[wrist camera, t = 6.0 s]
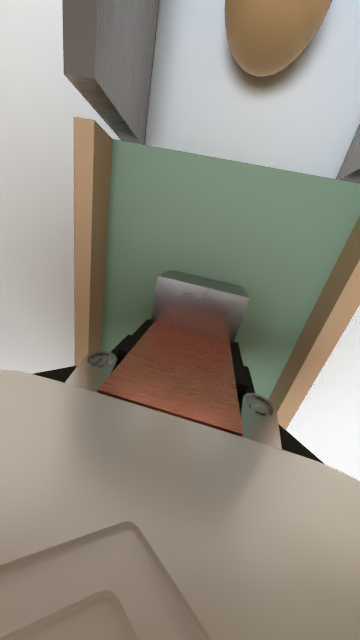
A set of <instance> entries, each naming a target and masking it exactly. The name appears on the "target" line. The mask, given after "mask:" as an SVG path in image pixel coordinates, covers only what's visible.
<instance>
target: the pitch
mask: <svg viewBox="0 0 360 640" xmlns="http://www.w3.org/2000/svg"><path fill="white" fill-rule="evenodd" d="M74 260H75V366H78V365H79V364H80V362H81V361H82V360H83V359H84V357H85V356H86V355H87V354H89V353H91V352H95V351H108V352H111V351H112V350H113V349H114V348H115V347H116V346H117V345H118V344H119V343H120V342H121V341H122V340H123V339H124V338H125V337H126V336H127V335H128V334H130V335H132V334H133V333H134V332H135V331H136V330H137V329H138V328H139V327H140V326H141V325H142V324H143V323H144V322H145V321H146V320H147V319H151V315H152V309H153V303H154V296H155V290H156V284H157V277H158V276H159V275H161V274H163V273H165V272H167V271H169V270H173V271H177V272H182V273H186V274H190V275H194V276H199V277H203V278H207V279H211V280H215V281H220V282H224V283H228V284H232V285H237V286H241V287H242V288H243V289H244V291H245V292H246V293H247V295H248V296H249V301H248V304H247V307H246V310H245V312H244V315H243V318H242V321H241V324H240V326H239V329H238V332H237V335H236V338H235V341H234V342H238V344H239V348H240V353H241V357H242V361H243V365H244V366H247V367H248V368H249V371H250V375H251V379H252V382H253V386H254V390H255V393H256V394H259V395H261V396H263V397H265V398H266V399H268V400H269V401H270V402H271V403H272V404H273V405H274V407H275V408H276V411H277V416H278V424H279V425H280V426H281V427H283V428H284V429H285V430H286V428H287V427H288V425H289V423H290V422H291V420H292V418H293V416H294V415H295V413H296V411H297V410H298V408H299V406H300V405H301V403H302V401H303V400H304V398H305V396H306V394H307V393H308V391H309V389H310V388H311V386H312V384H313V383H314V381H315V379H316V377H317V376H318V374H319V372H320V371H321V369H322V367H323V366H324V364H325V362H326V361H327V359H328V357H329V355H330V354H331V352H332V350H333V349H334V347H335V345H336V344H337V342H338V340H339V338H340V337H341V335H342V333H343V332H344V330H345V328H346V327H347V325H348V323H349V321H350V320H351V318H352V316H353V315H354V313H355V311H356V310H357V308H358V306H359V305H360V184H358V183H353V182H347V181H341V180H336V179H330V178H325V177H319V176H314V175H308V174H303V173H297V172H292V171H286V170H280V169H275V168H269V167H264V166H258V165H253V164H247V163H242V162H236V161H231V160H225V159H219V158H214V157H208V156H203V155H197V154H192V153H186V152H181V151H175V150H170V149H164V148H158V147H153V146H147V145H142V144H136V143H131V142H125V141H120V140H114V139H112V138H111V137H110V136H109V135H108V134H107V133H106V132H105V131H104V130H103V129H102V128H101V127H100V126H99V125H98V124H97V122H96V121H95V120H90V119H84V118H78V117H74Z"/></svg>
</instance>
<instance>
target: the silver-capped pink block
mask: <svg viewBox="0 0 360 640" xmlns="http://www.w3.org/2000/svg"><path fill="white" fill-rule="evenodd" d="M248 301H249V296H248V295H247V293H246V292H245V291H244V289H243V288H242V287H241V286H237V285H232V284H228V283H224V282H220V281H215V280H211V279H207V278H203V277H199V276H194V275H190V274H186V273H182V272H177V271H173V270H169V271H167V272H165V273H163V274H161V275H159V276H158V277H157V284H156V290H155V296H154V303H153V309H152V315H151V322H154V323H153V324H152V325H151V327H150V328H149V329H148V330H147V331H146V333H145V334H144V335H143V336H142V337H141V339H140V340H139V341H138V342H137V343H136V345H135V346H134V347H133V348H132V349H131V351H130V352H129V353H128V354H127V355H126V356H125V358H124V359H123V360H122V361H121V362H120V364H119V365H118V366H117V367H116V368H115V370H114V371H113V372H112V373H111V374H110V376H109V377H108V378H107V379H106V380H105V382H104V383H103V384H102V385H101V386H100V388H99V389H98V392H97V393H100V394H103V395H107V396H110V397H113V398H117V399H120V400H123V401H126V402H130V403H133V404H136V405H140V406H143V407H146V408H150V409H153V410H156V411H159V412H163V413H166V414H169V415H173V416H176V417H179V418H182V419H186V420H189V421H192V422H195V423H199V424H202V425H205V426H208V427H212V428H215V429H218V430H221V431H225V432H228V433H231V434H234V435H237V436H241V437H242V435H243V430H242V423H241V416H240V409H239V402H238V396H237V389H236V382H235V375H234V368H233V362H232V355H231V348H230V342H231V343H234V341H235V338H236V335H237V332H238V329H239V326H240V324H241V321H242V318H243V315H244V312H245V310H246V307H247V304H248Z"/></svg>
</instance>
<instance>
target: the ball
mask: <svg viewBox="0 0 360 640" xmlns="http://www.w3.org/2000/svg"><path fill="white" fill-rule="evenodd" d="M331 2H332V0H225V26H226V33H227V39H228V43H229V46H230V50H231V52H232V54H233V57H234V59H235V60H236V62H237V63H238V65H239V66H240V67H241V68H242V69H243V70H244V71H245V72H247V73H249V74H251V75H254V76H258V77H263V76H270V75H273V74H275V73H277V72H279V71H281V70H283V69H284V68H286V67H287V66H288V65H289V64H291V63H292V62H293V61H294V60H295V59H296V58H297V57H298V56H299V55H300V54H301V53H302V52H303V50H304V49H305V48H306V47H307V45H308V44H309V43H310V41H311V40H312V38H313V37H314V35H315V34H316V32H317V30H318V28H319V27H320V25H321V23H322V21H323V19H324V17H325V15H326V13H327V11H328V9H329V7H330V4H331Z"/></svg>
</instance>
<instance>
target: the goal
mask: <svg viewBox="0 0 360 640" xmlns="http://www.w3.org/2000/svg"><path fill="white" fill-rule="evenodd" d="M158 7H159V0H63V51H64V75H65V76H66V77H67V78H68V79H69V80H70V82H71V83H72V84H73V85H74V86H75V87H76V88H77V90H78V91H79V92H80V93H81V94H82V95H83V97H84V98H85V99H86V100H87V101H88V102H89V103H90V105H91V106H92V107H93V108H94V109H95V110H96V111H97V113H98V114H99V115H100V116H101V117H102V118H103V119H104V121H105V122H106V123H107V124H108V125H109V126H110V128H111V129H112V130H113V131H114V132H115V133H116V134H117V136H118V137H119V138H120V139H121V140H122V141H125V142H131V143H136V144H142V145H144V140H145V131H146V121H147V112H148V102H149V93H150V83H151V74H152V64H153V55H154V45H155V35H156V26H157V16H158ZM336 180H341V181H347V182H353V183H358V184H360V125H359V128H358V130H357V132H356V135H355V137H354V139H353V142H352V144H351V146H350V149H349V151H348V153H347V156H346V158H345V160H344V163H343V165H342V167H341V170H340V172H339V174H338V177H337V179H336Z"/></svg>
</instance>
